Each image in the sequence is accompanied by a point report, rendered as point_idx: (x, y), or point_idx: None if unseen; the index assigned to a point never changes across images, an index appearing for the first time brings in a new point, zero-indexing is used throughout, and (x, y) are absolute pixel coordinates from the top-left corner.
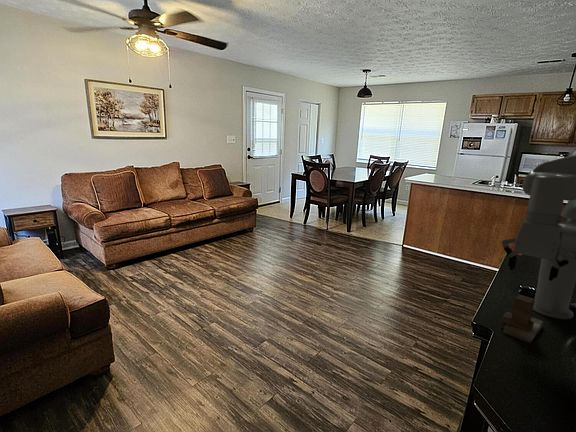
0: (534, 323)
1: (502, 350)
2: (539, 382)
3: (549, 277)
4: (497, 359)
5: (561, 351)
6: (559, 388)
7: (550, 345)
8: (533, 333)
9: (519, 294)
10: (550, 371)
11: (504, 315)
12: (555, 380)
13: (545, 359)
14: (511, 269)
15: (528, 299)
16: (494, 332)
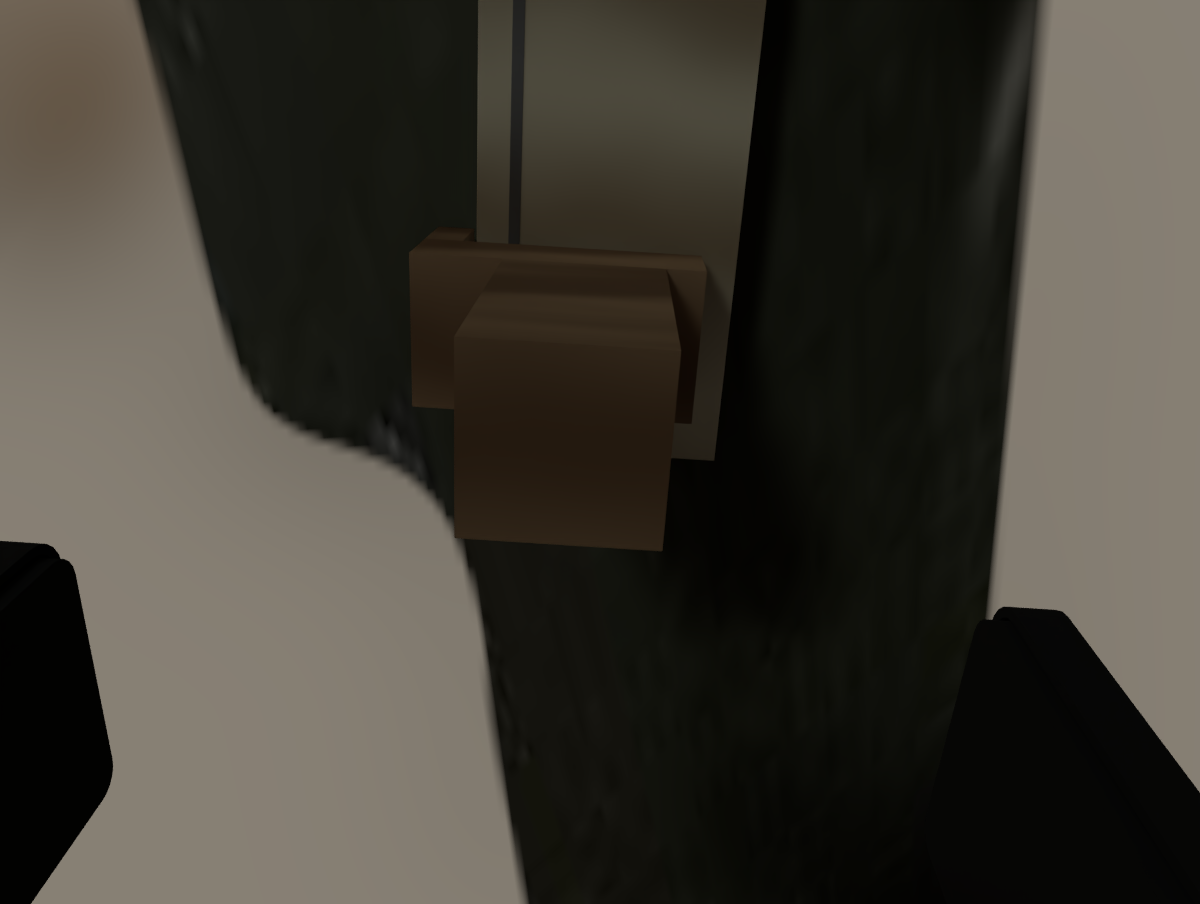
0: (698, 88)
1: (565, 705)
2: (813, 876)
3: (952, 890)
4: (570, 828)
5: (940, 371)
6: (912, 855)
7: (858, 332)
8: (719, 367)
9: (459, 342)
10: (865, 726)
11: (425, 386)
12: (893, 798)
13: (831, 601)
14: (88, 790)
15: (607, 449)
16: (435, 481)
